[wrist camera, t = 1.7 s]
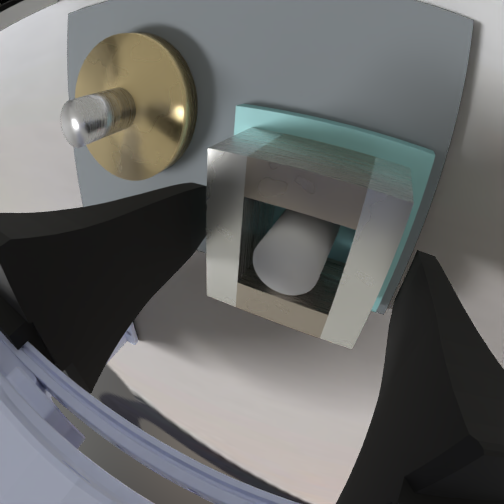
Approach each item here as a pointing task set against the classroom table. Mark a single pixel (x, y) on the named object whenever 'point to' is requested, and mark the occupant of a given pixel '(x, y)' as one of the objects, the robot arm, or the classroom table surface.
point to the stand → (314, 229)
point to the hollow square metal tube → (310, 203)
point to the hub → (133, 105)
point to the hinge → (20, 10)
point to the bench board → (293, 76)
